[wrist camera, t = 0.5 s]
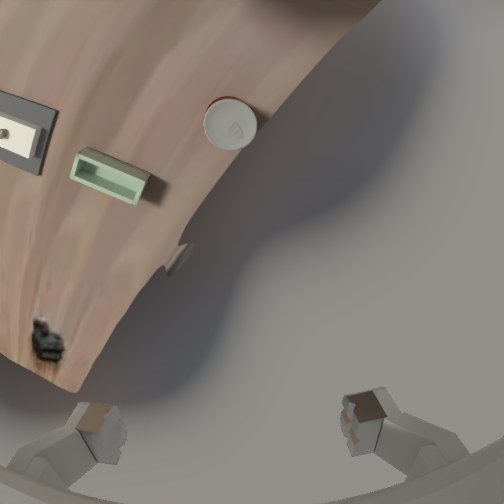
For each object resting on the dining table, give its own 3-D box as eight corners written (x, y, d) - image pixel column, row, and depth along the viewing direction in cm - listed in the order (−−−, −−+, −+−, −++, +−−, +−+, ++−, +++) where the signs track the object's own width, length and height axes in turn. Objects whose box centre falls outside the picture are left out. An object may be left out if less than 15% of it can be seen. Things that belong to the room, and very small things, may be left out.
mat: (-10, 87, 38) (-12, 87, 37) (57, 110, 45) (55, 111, 44) (-23, 147, 44) (-25, 148, 43) (39, 174, 51) (37, 176, 50)
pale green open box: (87, 146, 50) (76, 152, 45) (151, 173, 54) (145, 181, 50) (79, 169, 52) (69, 177, 47) (141, 196, 56) (135, 206, 52)
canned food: (235, 145, 54) (239, 160, 44) (197, 124, 51) (192, 134, 41) (258, 110, 51) (268, 117, 41) (219, 88, 48) (220, 89, 39)
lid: (-11, 107, 40) (-21, 110, 37) (41, 127, 45) (32, 131, 42) (-17, 133, 42) (-27, 138, 39) (34, 155, 48) (25, 160, 44)
